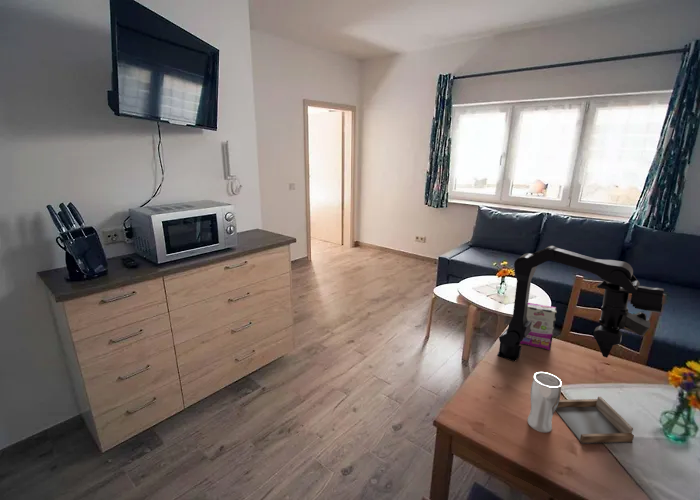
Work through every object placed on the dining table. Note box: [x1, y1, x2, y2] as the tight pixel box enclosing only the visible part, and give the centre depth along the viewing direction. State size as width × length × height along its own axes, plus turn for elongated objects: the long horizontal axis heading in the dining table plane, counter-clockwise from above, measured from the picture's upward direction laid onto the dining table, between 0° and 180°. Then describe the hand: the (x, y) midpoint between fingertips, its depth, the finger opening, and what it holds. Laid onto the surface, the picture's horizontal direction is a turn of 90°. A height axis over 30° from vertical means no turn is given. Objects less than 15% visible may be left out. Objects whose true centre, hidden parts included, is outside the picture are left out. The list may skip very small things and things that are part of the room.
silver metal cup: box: [527, 371, 563, 434], centre depth 93 cm, size 7×7×15 cm
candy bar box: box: [520, 302, 558, 351], centre depth 132 cm, size 11×5×16 cm, turn 62°
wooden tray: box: [555, 396, 635, 445], centre depth 95 cm, size 13×13×4 cm
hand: (607, 350), depth 104 cm, fingers open, 9 cm apart
